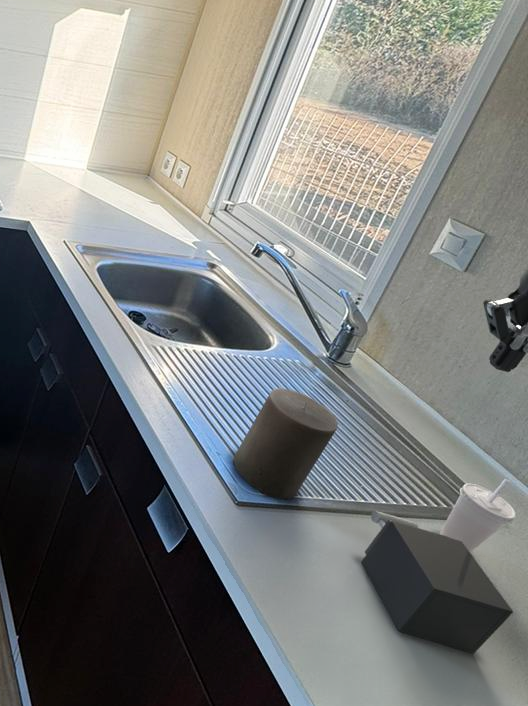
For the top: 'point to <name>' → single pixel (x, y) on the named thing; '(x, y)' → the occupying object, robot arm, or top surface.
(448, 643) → the dark grey box
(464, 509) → the smoothie
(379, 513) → the dark grey angled piece
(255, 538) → the top surface
